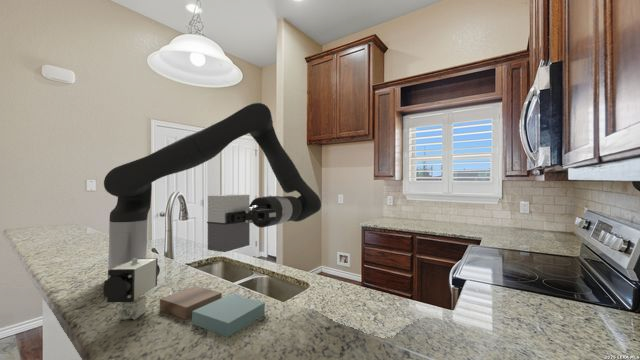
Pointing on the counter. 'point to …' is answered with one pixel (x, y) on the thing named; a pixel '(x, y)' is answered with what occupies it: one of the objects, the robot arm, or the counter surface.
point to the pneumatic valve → (131, 285)
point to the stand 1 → (188, 301)
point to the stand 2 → (228, 314)
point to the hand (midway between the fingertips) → (219, 217)
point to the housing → (220, 230)
